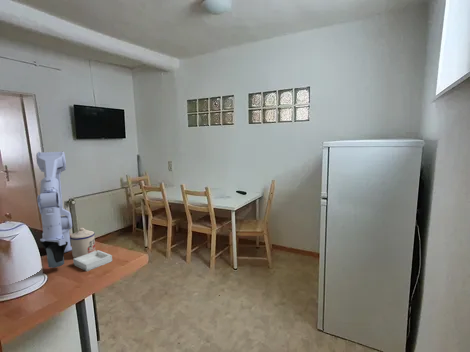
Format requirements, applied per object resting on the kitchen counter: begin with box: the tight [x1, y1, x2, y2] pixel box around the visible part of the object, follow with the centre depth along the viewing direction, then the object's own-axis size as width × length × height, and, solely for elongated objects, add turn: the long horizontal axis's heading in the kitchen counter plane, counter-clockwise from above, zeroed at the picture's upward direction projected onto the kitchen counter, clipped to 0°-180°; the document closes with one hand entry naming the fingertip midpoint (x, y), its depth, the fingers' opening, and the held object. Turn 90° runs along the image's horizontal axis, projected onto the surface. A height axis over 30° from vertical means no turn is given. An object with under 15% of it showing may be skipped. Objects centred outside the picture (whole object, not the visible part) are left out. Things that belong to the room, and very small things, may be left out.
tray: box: [72, 249, 113, 272], centre depth 104 cm, size 10×10×2 cm
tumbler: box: [45, 247, 65, 269], centre depth 99 cm, size 5×5×7 cm
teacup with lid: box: [70, 227, 97, 259], centre depth 114 cm, size 12×9×12 cm
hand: (55, 259), depth 99 cm, fingers closed on tumbler, 5 cm apart
